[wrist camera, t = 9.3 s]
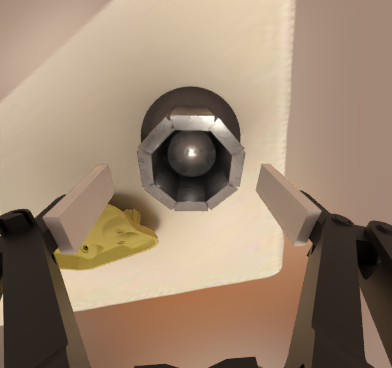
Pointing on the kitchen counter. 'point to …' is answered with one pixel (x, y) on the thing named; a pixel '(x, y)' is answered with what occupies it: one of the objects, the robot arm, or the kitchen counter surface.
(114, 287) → the kitchen counter surface
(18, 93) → the kitchen counter surface
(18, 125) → the kitchen counter surface
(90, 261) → the plastic component
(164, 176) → the collar
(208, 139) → the duct stub
